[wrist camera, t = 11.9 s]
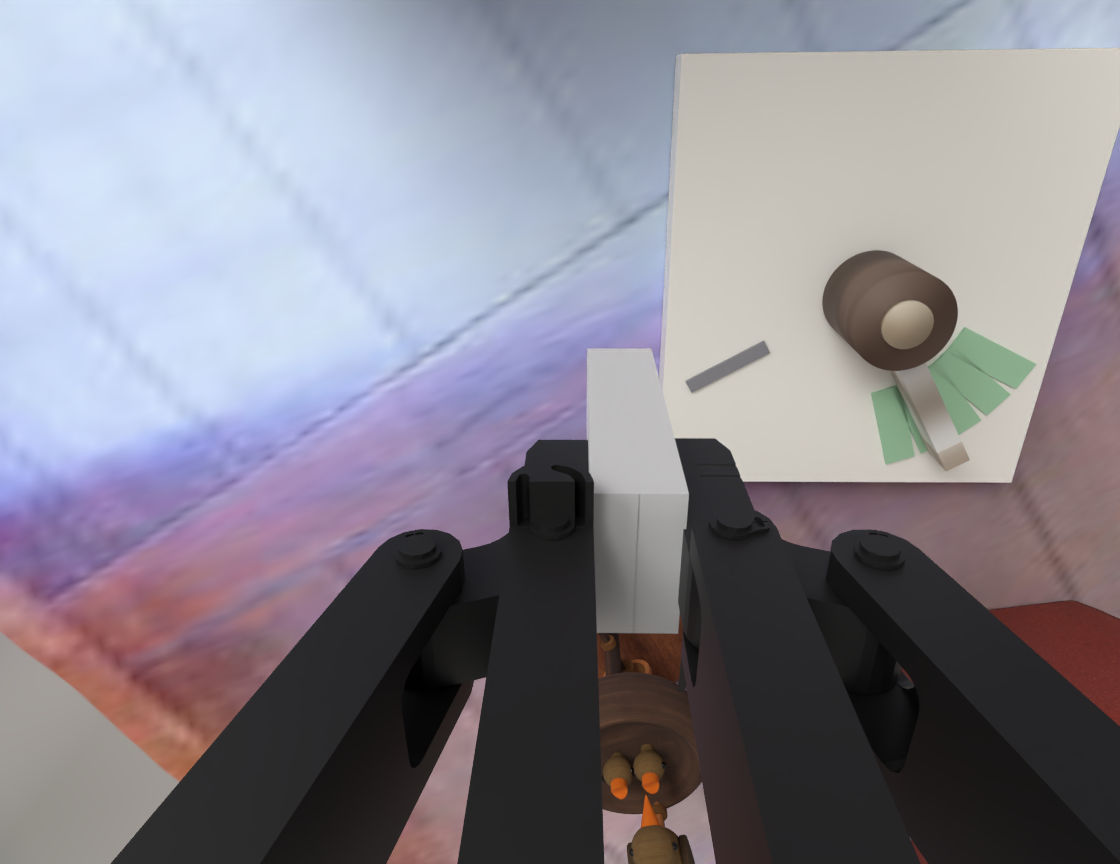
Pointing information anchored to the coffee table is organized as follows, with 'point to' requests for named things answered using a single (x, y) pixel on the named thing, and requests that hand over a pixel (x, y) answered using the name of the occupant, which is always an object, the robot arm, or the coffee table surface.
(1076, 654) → the plant pot
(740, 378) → the board
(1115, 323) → the coffee table surface
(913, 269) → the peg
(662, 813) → the music box
